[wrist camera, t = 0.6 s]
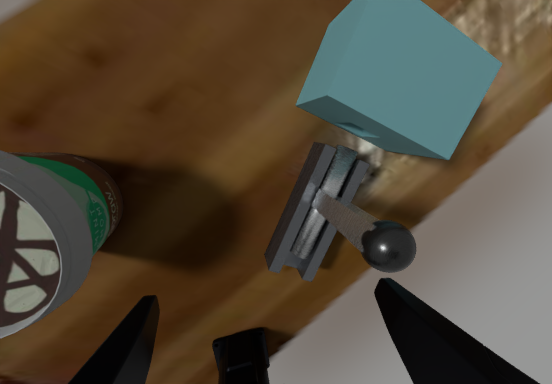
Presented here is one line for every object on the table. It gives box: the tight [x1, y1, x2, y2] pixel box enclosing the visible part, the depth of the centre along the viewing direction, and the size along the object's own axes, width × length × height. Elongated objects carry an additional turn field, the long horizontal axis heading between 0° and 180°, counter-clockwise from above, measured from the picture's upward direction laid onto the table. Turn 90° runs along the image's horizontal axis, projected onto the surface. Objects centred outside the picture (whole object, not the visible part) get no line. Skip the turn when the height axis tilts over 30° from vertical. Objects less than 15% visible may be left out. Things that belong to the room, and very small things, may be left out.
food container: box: [0, 150, 123, 338], centre depth 18 cm, size 12×6×10 cm, turn 5°
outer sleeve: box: [264, 142, 369, 282], centre depth 25 cm, size 14×5×3 cm, turn 157°
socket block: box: [296, 0, 502, 160], centre depth 21 cm, size 8×12×8 cm, turn 67°
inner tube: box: [290, 145, 416, 273], centre depth 19 cm, size 12×3×13 cm, turn 157°
